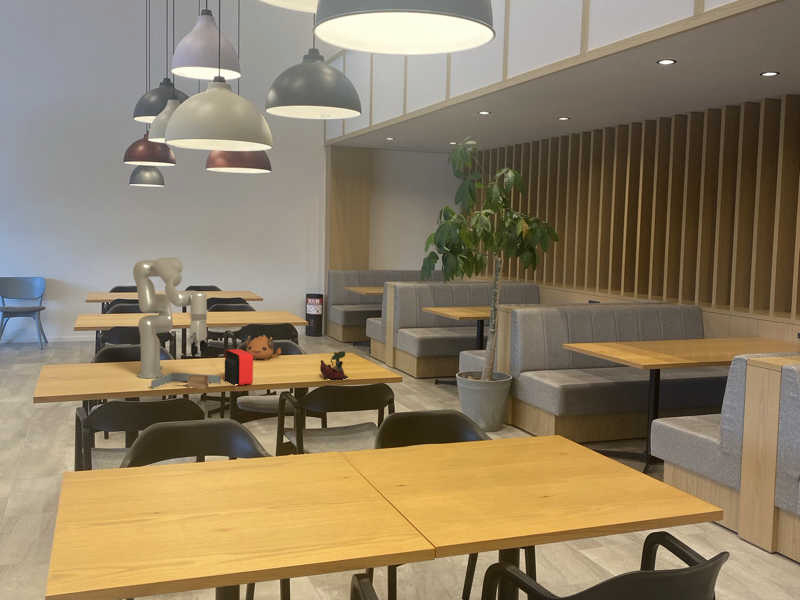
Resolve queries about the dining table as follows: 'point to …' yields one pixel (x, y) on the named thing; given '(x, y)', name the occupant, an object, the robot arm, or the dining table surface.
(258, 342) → the toy
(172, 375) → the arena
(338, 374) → the multicoloured piece
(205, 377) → the walnut block
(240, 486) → the dining table surface
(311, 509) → the dining table surface
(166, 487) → the dining table surface
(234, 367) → the red black block
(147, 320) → the robot arm
